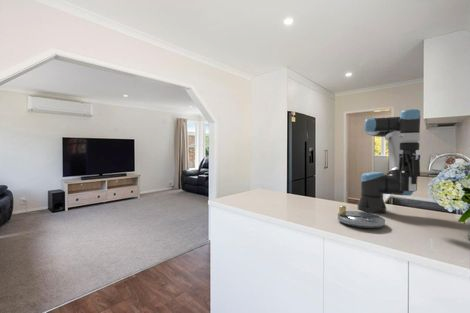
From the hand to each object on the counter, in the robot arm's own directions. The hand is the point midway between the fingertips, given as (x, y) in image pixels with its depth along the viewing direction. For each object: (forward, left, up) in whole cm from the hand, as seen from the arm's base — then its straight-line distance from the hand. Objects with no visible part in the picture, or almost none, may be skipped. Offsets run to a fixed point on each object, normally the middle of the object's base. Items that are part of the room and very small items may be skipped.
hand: (408, 189), depth 109 cm
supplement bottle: (0, 0, -1) cm, 1 cm away
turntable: (+21, 0, -17) cm, 27 cm away
